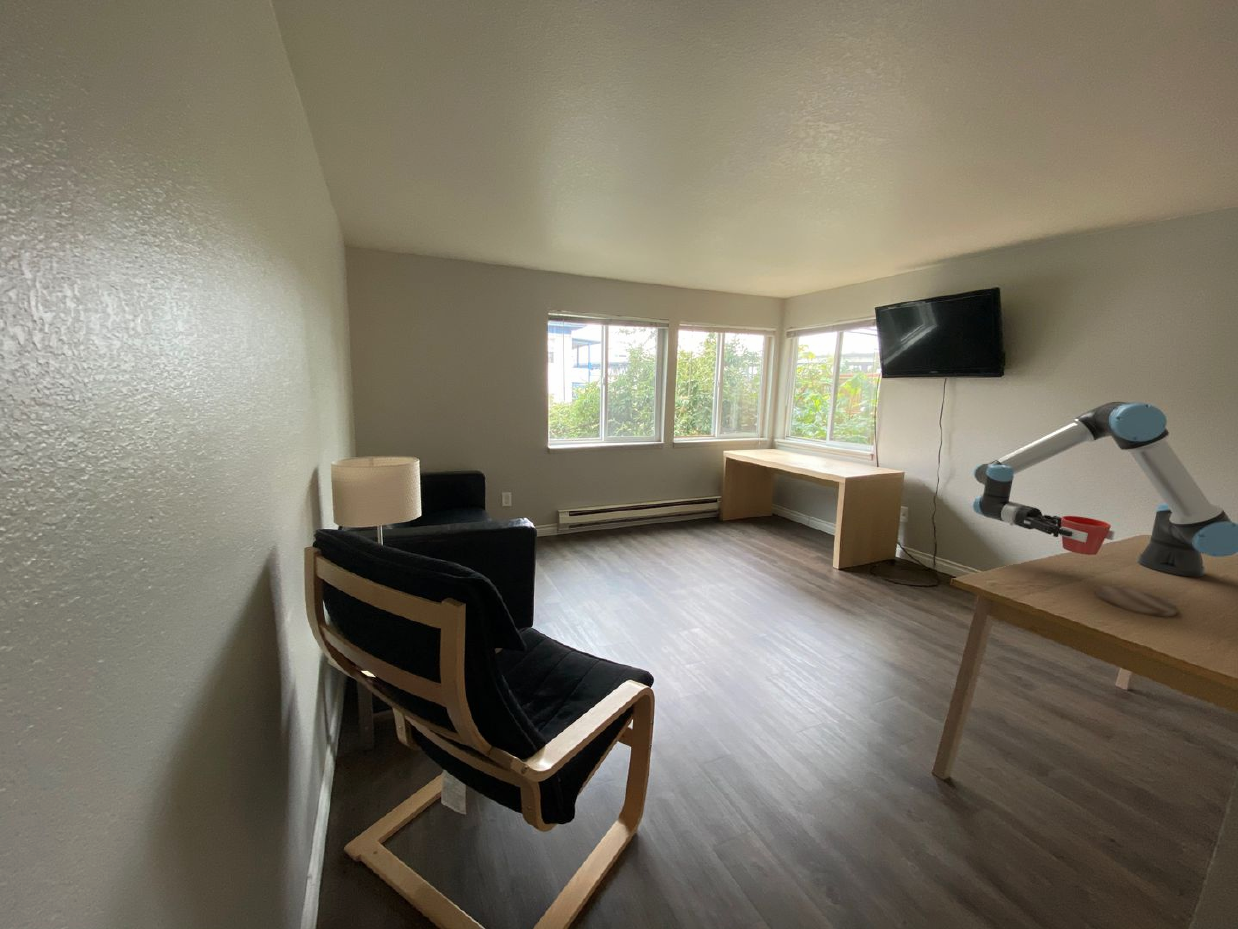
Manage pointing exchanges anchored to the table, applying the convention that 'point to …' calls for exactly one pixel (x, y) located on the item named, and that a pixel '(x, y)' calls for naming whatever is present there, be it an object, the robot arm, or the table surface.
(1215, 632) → the table surface
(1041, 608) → the table surface
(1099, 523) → the flower pot
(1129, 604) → the brown plate
